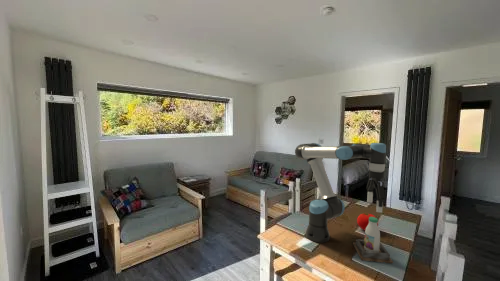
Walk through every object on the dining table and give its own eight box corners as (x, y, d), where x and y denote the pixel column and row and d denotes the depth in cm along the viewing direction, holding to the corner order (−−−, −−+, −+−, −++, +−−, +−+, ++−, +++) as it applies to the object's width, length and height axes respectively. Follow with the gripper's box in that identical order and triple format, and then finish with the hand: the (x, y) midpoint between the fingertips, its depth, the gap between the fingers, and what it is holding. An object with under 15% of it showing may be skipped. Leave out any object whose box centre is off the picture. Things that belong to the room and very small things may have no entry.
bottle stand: (361, 260, 119) (361, 253, 119) (352, 243, 135) (352, 237, 134) (393, 263, 116) (393, 256, 116) (380, 246, 132) (380, 240, 132)
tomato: (381, 235, 145) (382, 218, 144) (359, 232, 148) (360, 216, 147) (374, 226, 157) (375, 211, 156) (354, 224, 160) (355, 209, 159)
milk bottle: (373, 247, 129) (375, 215, 128) (382, 255, 122) (384, 221, 120) (361, 247, 129) (363, 215, 127) (368, 255, 121) (370, 221, 120)
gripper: (394, 176, 108) (391, 217, 110) (374, 166, 133) (372, 199, 135) (378, 175, 109) (375, 216, 111) (361, 165, 134) (359, 198, 136)
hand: (374, 207), depth 123 cm, fingers open, 13 cm apart
